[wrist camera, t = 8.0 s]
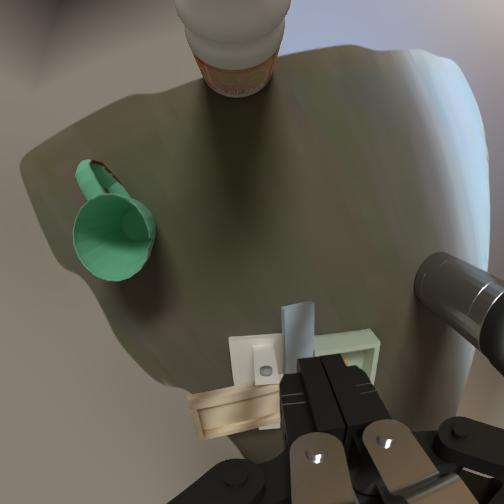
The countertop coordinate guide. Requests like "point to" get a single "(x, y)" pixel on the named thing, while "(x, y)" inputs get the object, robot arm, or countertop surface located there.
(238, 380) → the stand
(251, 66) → the fruit juice
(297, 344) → the lever
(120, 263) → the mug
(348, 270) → the countertop surface
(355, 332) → the pale green tray
